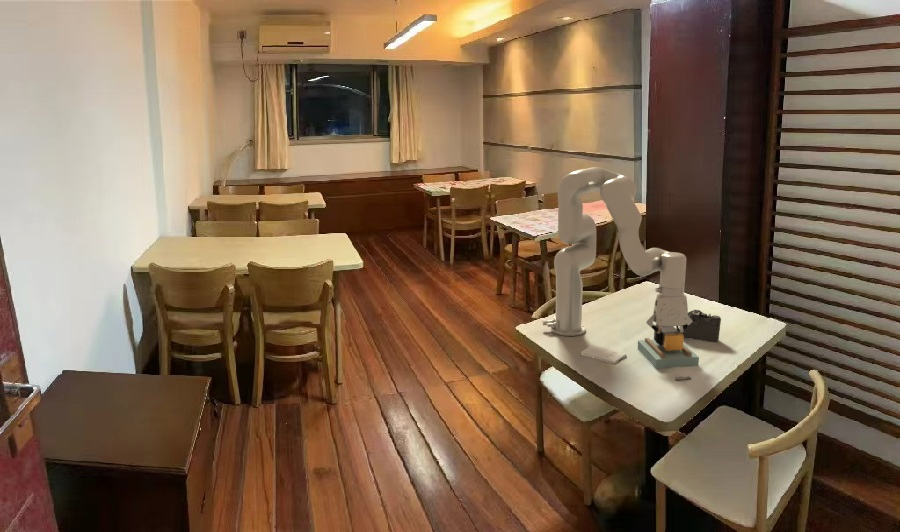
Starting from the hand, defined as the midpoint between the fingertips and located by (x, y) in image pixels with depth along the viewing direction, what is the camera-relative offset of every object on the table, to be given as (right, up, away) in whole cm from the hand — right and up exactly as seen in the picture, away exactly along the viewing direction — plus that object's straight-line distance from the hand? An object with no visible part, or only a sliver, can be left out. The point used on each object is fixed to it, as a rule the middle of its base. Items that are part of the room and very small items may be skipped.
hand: (667, 342), depth 210 cm
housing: (0, -1, 0) cm, 1 cm away
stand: (0, -5, +1) cm, 5 cm away
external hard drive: (-20, -5, +4) cm, 21 cm away
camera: (+17, 0, +19) cm, 26 cm away
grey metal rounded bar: (-1, -10, -15) cm, 18 cm away
